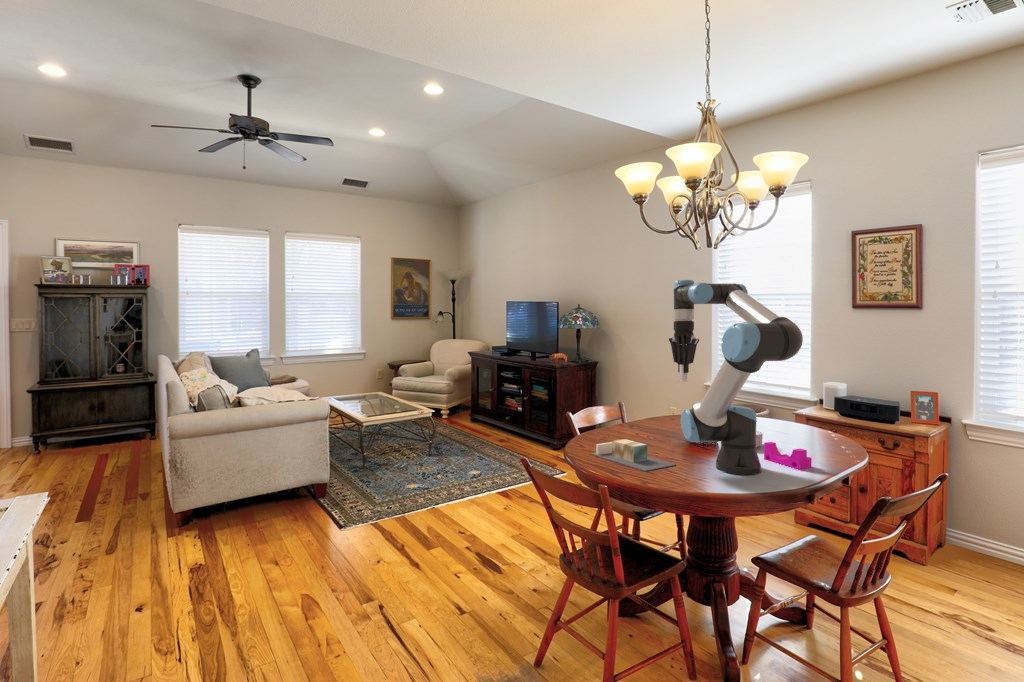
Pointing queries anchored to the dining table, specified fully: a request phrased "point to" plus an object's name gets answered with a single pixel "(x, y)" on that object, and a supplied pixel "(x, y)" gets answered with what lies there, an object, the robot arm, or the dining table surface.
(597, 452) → the stop rail
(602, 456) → the gray ramp
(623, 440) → the beech block
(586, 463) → the dining table surface
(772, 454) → the toy block
